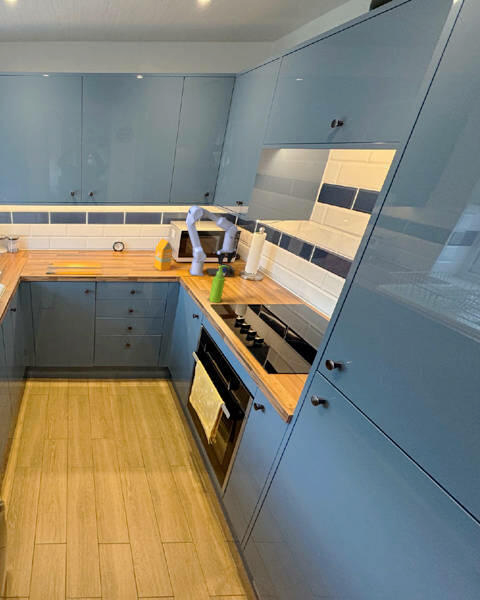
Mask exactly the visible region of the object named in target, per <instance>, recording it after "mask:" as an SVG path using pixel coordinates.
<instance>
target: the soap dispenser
mask: <svg viewBox="0 0 480 600" xmlns="http://www.w3.org/2000/svg"><path fill="white" fill-rule="evenodd" d="M217 267H218V269H219V271H217V273H216V276H212V282H211V287H210V291H209V299H208V300H209V301H210V302H212V303H214V304H217V303H220V302H221V301H222V295H223V292H224V287H225V286H224V285H225V282H226V277H223V274H224V272H223V271H222V270H223V268H224V267H229V266H226V265H220V264H219V265H217Z"/></svg>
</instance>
